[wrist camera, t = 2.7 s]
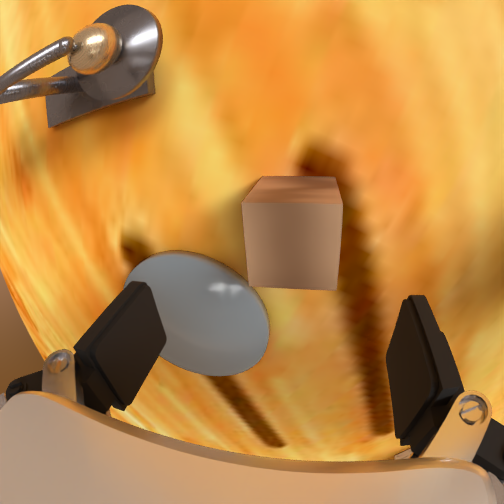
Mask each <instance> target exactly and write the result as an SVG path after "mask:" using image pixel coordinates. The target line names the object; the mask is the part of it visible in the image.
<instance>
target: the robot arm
mask: <svg viewBox="0 0 504 504" xmlns="http://www.w3.org/2000/svg"><path fill="white" fill-rule="evenodd" d="M166 340H167V337H166V333H165V330H164V327H163V324H162V322H161V319H160V315H159V312H158V309H157V306H156V303H155V300H154V297H153V293H152V290H151V288H150V286H148V285H147V283H146V282H141V281H131V282H130V283H129V284H128V285H127V286H126V287H125V288H124V289H123V291H122V292H121V293H120V294H119V295H118V296H117V297H116V298H115V299H114V300H113V302H112V303H111V304H110V305H109V306H108V307H107V308H106V309H105V311H104V312H103V313H102V314H101V315H100V316H99V317H98V319H97V320H96V321H95V322H94V323H93V324H92V325H91V327H90V328H89V329H88V330H87V331H86V333H85V334H84V335H83V336H82V337H81V338H80V340H79V341H78V342H77V343H76V345H75V346H74V347H73V348H74V349H75V351H76V353H75V354H73V353H72V352H71V351H69V350H66V349H62V350H58V351H55V352H53V353H52V354H51V355H49V356H48V358H47V359H46V360H45V362H44V366H43V370H41V371H38V372H35V373H32V374H30V375H27V376H24V377H20V378H18V379H15V380H14V381H12V382H11V383H10V384H9V386H8V388H7V390H6V395H5V394H4V393H3V394H1V395H0V504H504V426H503V425H502V424H500V423H499V422H497V421H495V420H494V419H492V418H491V416H492V407H491V404H490V402H489V400H488V399H487V397H486V396H484V395H483V394H482V393H480V392H477V391H470V390H469V391H466V392H465V391H464V388H463V384H462V381H461V378H460V375H459V372H458V369H457V366H456V364H455V361H454V358H453V355H452V353H451V350H450V347H449V345H448V342H447V340H446V337H445V335H444V333H443V332H441V331H440V329H439V327H438V324H437V322H436V320H435V317H434V315H433V313H432V310H431V308H430V306H429V304H428V301H427V299H426V297H425V296H424V295H409V296H408V298H407V299H404V300H403V302H402V305H401V309H400V312H399V316H398V319H397V323H396V326H395V329H394V332H393V335H392V338H391V341H390V344H389V347H388V350H387V354H386V364H387V371H388V377H389V384H390V391H391V399H392V407H393V416H394V426H395V436H396V438H397V439H399V438H400V445H401V446H405V445H410V446H411V451H412V454H411V455H410V457H409V458H408V459H393V460H380V461H355V462H324V461H301V460H288V459H277V458H268V457H260V456H253V455H246V454H240V453H234V452H229V451H224V450H218V449H214V448H209V447H205V446H200V445H196V444H192V443H188V442H184V441H181V440H177V439H173V438H170V437H167V436H163V435H160V434H157V433H153V432H150V431H147V430H144V429H141V428H139V427H136V426H133V425H130V424H127V423H125V422H122V421H120V420H117V419H114V418H112V417H111V414H110V407H111V405H112V406H113V407H114V408H117V409H119V410H122V411H124V410H125V409H126V407H127V405H130V404H131V403H132V401H133V400H134V398H135V396H136V394H137V393H138V391H139V389H140V387H141V386H142V384H143V382H144V380H145V379H146V377H147V375H148V373H149V372H150V370H151V368H152V366H153V365H154V363H155V361H156V360H157V358H158V356H159V354H160V353H161V351H162V349H163V348H164V346H165V344H166Z"/></svg>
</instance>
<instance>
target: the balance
mask: <svg viewBox="0 0 504 504" xmlns="http://www.w3.org/2000/svg"><path fill="white" fill-rule="evenodd" d="M162 43H163V35H162V29H161V25H160V23H159V21H158V19H157V18H156V16H155V15H154V14H153V13H152V12H150V11H149V10H147V9H144V8H142V7H139V6H136V5H122V6H118V7H115V8H113V9H111V10H109V11H107V12H105V13H104V14H102V15H101V16H100V17H99V18H98V19H97V20H96V21H95V22H94V23H93V24H91V25H88V26H86V27H84V28H83V29H81V30H80V31H78V32H77V33H76V34H75V36H74V37H73V38H71V37H63V38H61V39H59V40H57V41H55V42H54V43H52V44H50V45H48V46H46V47H45V48H43V49H41V50H39V51H38V52H36V53H34V54H33V55H31V56H30V57H28V58H26V59H25V60H23V61H22V62H20V63H19V64H17V65H16V66H14V67H13V68H12V69H10V70H9V71H7V72H6V73H5V74H3V75H2V76H0V104H3V103H8V102H13V101H18V100H23V99H29V98H35V97H42V96H46V108H47V118H48V127H49V128H51V127H55V126H58V125H60V124H62V123H65V122H67V121H70V120H72V119H75V118H78V117H80V116H83V115H86V114H88V113H91V112H94V111H97V110H100V109H103V108H106V107H109V106H112V105H115V104H118V103H122V102H125V101H129V100H132V99H136V98H139V97H143V96H147V95H151V94H155V85H154V73H153V70H154V68H155V66H156V64H157V62H158V59H159V57H160V53H161V50H162ZM66 55H67V59H68V62H69V65H70V66H69V67H67V68H65V69H64V70H62V71H60V72H58V73H57V74H55V75H53V76H52V77H48V78H36V79H26V80H22V79H24V78H25V77H27V76H29V75H30V74H32V73H34V72H35V71H37V70H39V69H41V68H43V67H44V66H46V65H48V64H50V63H52V62H54V61H56V60H58V59H60V58H62V57H64V56H66Z"/></svg>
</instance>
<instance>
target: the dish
mask: <svg viewBox="0 0 504 504" xmlns="http://www.w3.org/2000/svg"><path fill="white" fill-rule="evenodd" d="M131 281H141V282H146V283H147V285H148V286H150V288H151V290H152V293H153V297H154V300H155V303H156V306H157V309H158V312H159V315H160V319H161V322H162V324H163V327H164V330H165V333H166V337H167V340H166V344H165V346H164V348H163V349H162V351H161V353H160V354H159V355H160V356H161V357H162V358H164V359H165V360H167V361H169V362H170V363H172V364H174V365H176V366H178V367H180V368H183V369H185V370H188V371H191V372H195V373H199V374H203V375H210V376H228V375H234V374H238V373H241V372H244V371H246V370H248V369H250V368H251V367H253V366H254V365H255V364H257V363H258V362H259V361H260V359H261V358H262V357H263V355H264V353H265V351H266V347H267V343H268V339H269V335H270V321H269V316H268V313H267V310H266V308H265V306H264V303H263V301H262V300H261V298H260V297H259V295H258V294H257V292H256V291H255V290H254V289H253V287H252V286H249V283H248V282H247V281H246V280H245V279H244V278H243V277H242V276H240V275H239V274H238V273H237V272H235V271H234V270H233V269H231V268H229V267H228V266H226V265H224V264H223V263H221V262H219V261H217V260H215V259H213V258H210V257H207V256H205V255H202V254H198V253H194V252H189V251H180V250H172V251H164V252H159V253H156V254H153V255H151V256H149V257H147V258H146V259H144V260H143V261H142V262H141V263H139V264H138V265H137V266H136V267H135V268H134V269H133V271H132V272H131V273H130V274H129V276H128V278H127V280H126V282H125V285H124V288H125V287H126V286H127V285H128V284H129V283H130V282H131Z"/></svg>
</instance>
